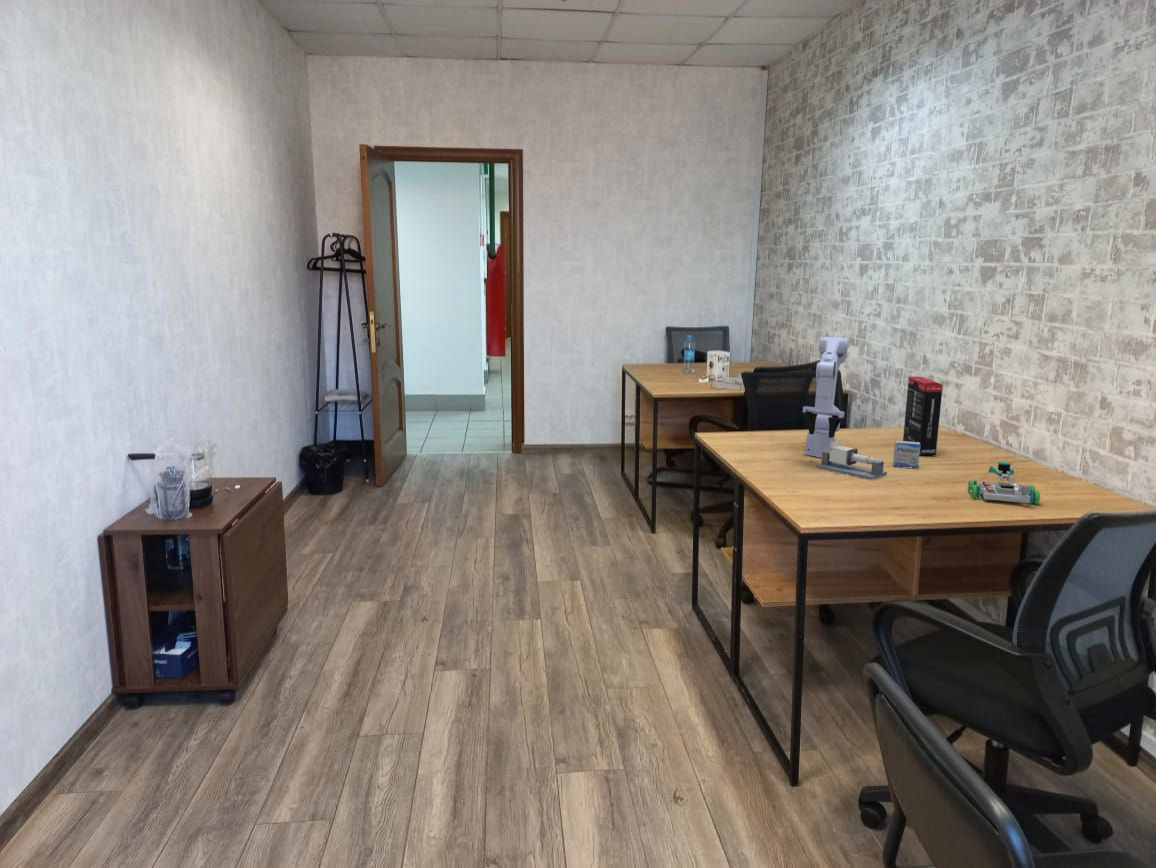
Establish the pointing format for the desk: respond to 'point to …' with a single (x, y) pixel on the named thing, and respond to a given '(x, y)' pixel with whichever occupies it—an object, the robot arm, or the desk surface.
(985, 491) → the robot kit
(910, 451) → the medicine box
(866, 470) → the pipe stand
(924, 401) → the graphics card box
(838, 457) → the sleeve
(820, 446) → the robot arm
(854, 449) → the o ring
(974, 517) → the desk surface
